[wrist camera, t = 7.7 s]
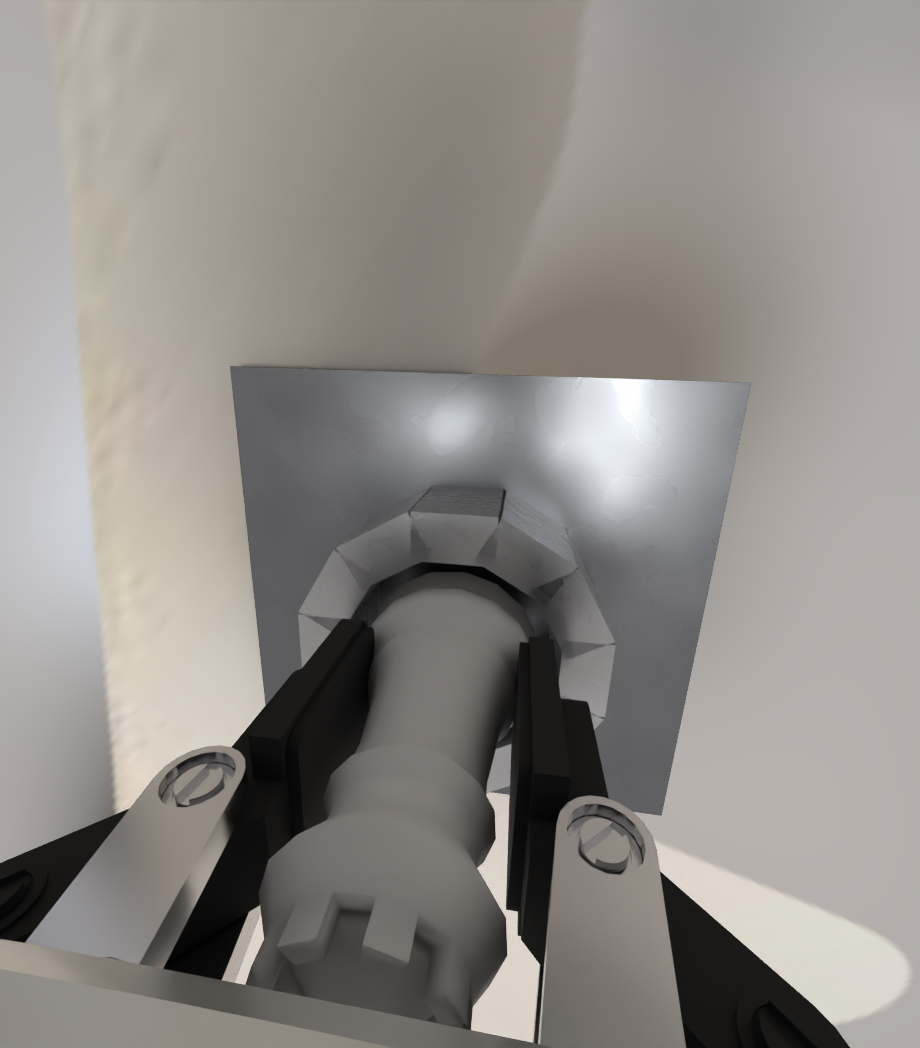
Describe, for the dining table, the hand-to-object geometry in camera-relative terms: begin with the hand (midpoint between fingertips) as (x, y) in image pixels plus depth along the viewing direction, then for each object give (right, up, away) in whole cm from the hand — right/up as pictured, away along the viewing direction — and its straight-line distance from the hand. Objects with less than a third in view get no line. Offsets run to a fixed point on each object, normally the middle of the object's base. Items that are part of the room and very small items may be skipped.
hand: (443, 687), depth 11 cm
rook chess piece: (0, +1, +2) cm, 2 cm away
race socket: (+1, +1, +4) cm, 4 cm away
